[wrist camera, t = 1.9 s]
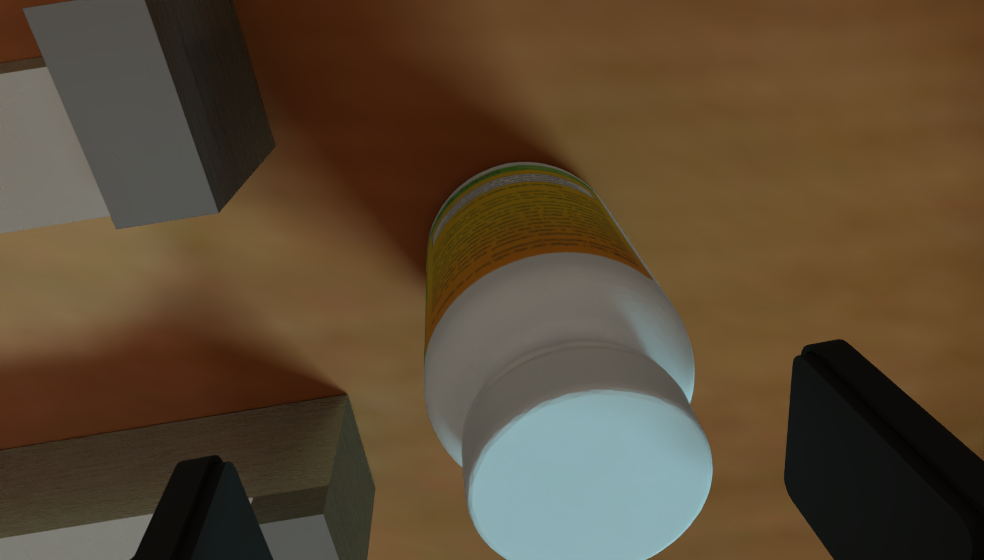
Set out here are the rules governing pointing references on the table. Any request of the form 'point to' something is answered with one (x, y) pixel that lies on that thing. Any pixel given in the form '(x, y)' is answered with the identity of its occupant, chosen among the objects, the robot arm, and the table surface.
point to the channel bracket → (140, 201)
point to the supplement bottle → (558, 373)
